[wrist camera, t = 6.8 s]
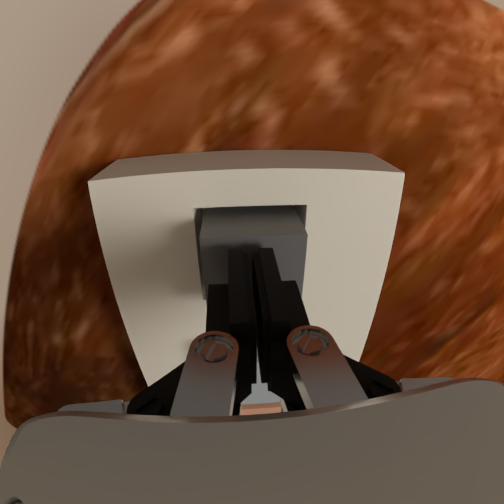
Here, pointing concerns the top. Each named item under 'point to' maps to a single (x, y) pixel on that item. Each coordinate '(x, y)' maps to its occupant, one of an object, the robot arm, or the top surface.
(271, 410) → the terracotta button
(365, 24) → the top surface
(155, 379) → the button panel
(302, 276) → the charcoal button
